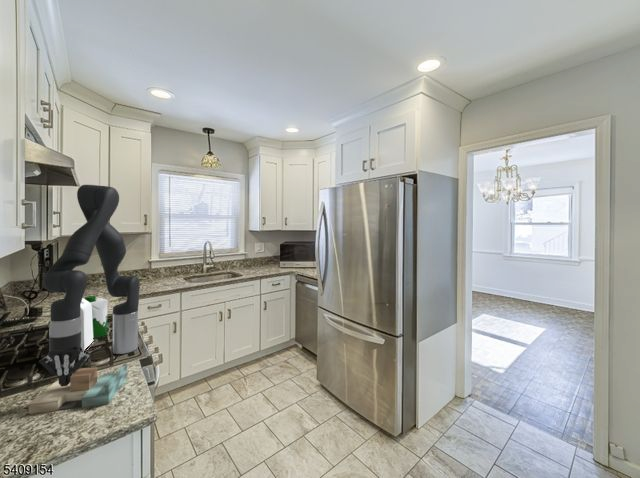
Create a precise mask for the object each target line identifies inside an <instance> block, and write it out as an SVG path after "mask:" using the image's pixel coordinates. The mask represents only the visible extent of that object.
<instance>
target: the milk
mask: <svg viewBox="0 0 640 478" xmlns="http://www.w3.org/2000/svg"><path fill="white" fill-rule="evenodd" d="M80 318H81V348H82V351H83V352H84V350H85V349H86V348H87V347H88V346H89V345H90V344H91V343H92V342H93V341H94V339H93V320H92V305H91V303H90V302H88V301H87V300H85V297H83V298H82V301H81V304H80ZM93 343H94V342H93ZM93 343H92V344H93Z"/></svg>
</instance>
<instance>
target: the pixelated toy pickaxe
mask: <svg viewBox="0 0 640 478" xmlns="http://www.w3.org/2000/svg"><path fill="white" fill-rule="evenodd" d="M127 368H128V364H127V363H123V364H122V365H121V366H120V368H119V369H118V370H117V371H116V372H110V373H103V374H102V375H101V376H100V378H97V382H96V384H95V385H94V386H93V387H92V388H91V389H90V390H87V391H77V392H70V383H69V384H68V385H67V386H61V385H59V378H58V379H57V380H56V381H54V382H53V383H52V384H51V385H50V386H48V387H47V388H46V389H45V390H44V391H42V393H40V394H38V396H37V397H35V398H34V399H33V400H32V401H30V402H29V403H28V414H29V415H30V414H39V413H47V412H48V413H49V412H54V411H55V412H56V411H64V410H72V409H78V408H87V407H96V406H103V405H109V404H110V403H111V401H112V400H113V398H114V397H115V396H116V395H117V393H118V392H119V390H121V388H122V387H123V385H125V382H126V381H127V380H128V375H127V374H128V373H127V372H128V369H127Z"/></svg>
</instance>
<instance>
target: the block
mask: <svg viewBox="0 0 640 478" xmlns="http://www.w3.org/2000/svg"><path fill="white" fill-rule="evenodd" d="M97 379H98V367H97V366H95V367H83V368H79V369H77V370H76V371H75V372H73V373H72V376H71V377H70V392H77V391H87V390H90V389H91V388H92V387H93V386H94V385H95V384H96V382H97Z"/></svg>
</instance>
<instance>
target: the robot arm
mask: <svg viewBox="0 0 640 478" xmlns="http://www.w3.org/2000/svg"><path fill="white" fill-rule="evenodd" d="M119 194H120V193H119V191H118V190H117V189H116V188H114V187H113V186H108V185H107V186H106V185H96V184H82V185H80V186H79V187H78V189H77V191H76V197H77V202H78V206H79V207H80V210H81V212H82V214H83V216H84V218H85V221H86V222H85V223H84V224H83V225H82V226H80V227H79V228H78V229H77V230H75V231H74V232H73V233H72V234H71V236H70V237H69V238H68V240H67V243H66V245H65V248H64V250H63V252H62V254H61V256H60V257H59V258H58V259H57V260H55V262H54V263H53V264H52V266H51V267H50V268H49V269H48V270H47V272H46V273H45V275H44V277H43V280H42V281H43V283H42V284H43V287H44V289H45V290H46V291H48V292H51V293H65V295H64V297H63V298H61V299H57V300H54V301H52V303H51V304H50V318H49V319H50V321H49V322H50V323H49V328H48V339H49V340H48V345H49V346H48V347H49V348H48V349H49V351H48V352H47V353H48V354H47V356H44V357H43V358H41V359H40V360H39V364H40V365H41V366H43V368H45V369H46V370H47V371H48V373H50V374H51V375H57V376H58V379H59V385H61V386H67V385H68V384H69V383H70V377H71V376H72V375H73V373H75V372H76V371H78V370H79V369H81V366H82V365H84V364H85V362H86V361H87V360H88V359H89V357H91V353H89V352H88V353H86V352H85V353H84V352H82V348H81V318H80V304H81V301H82V298H84V294H85V291H86V289H87V286H88V283H89V282H88V277H87V275H86V273H85V272H84V271H82V270H77V269H76V270H74V269H75V268H77V267H81V266H85V265H86V264H88V262H89V260H90V258H91V256H92V254H93V251H94V248H95V249H96V252H97V254H98V257H99V259H100V263H101V267H102V270H103V273H104V278H105V282H106V288H107V292H108V294H109V296H110V297H113V298H126V301H124V302H122V303H119V304H116V305H114V306H113V308H112V353H113V354H115V355H123V354H129V353H131V352H134V351H135V350H137V349H138V348H139V304H140V303H139V301H140V287H141V286H140V285H141V284H140V279H139V277H138V276H137V275H119V271H118V268H119V266H120V264H121V263H122V261H123V259H124V258H125V257H126V253H127V248H126V244H125V240H124V237H123V236H122V234H121V233H120V232H119V230H117V229H116V227H114V226H113V224H111V223H110V222H109V221H110V220H111V218H112V217H113V215H114V213H115V212H116V210H117V208H118V206H119V202H120V195H119ZM77 359H78V361H77V362H76V364H75V361H76V360H77Z"/></svg>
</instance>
